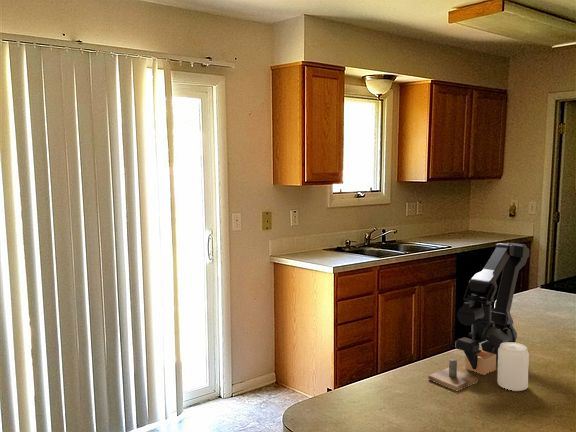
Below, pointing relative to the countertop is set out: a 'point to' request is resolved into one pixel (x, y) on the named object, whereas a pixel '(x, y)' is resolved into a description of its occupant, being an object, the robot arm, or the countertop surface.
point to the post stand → (453, 377)
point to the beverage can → (513, 366)
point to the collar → (483, 363)
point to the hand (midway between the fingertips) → (480, 366)
